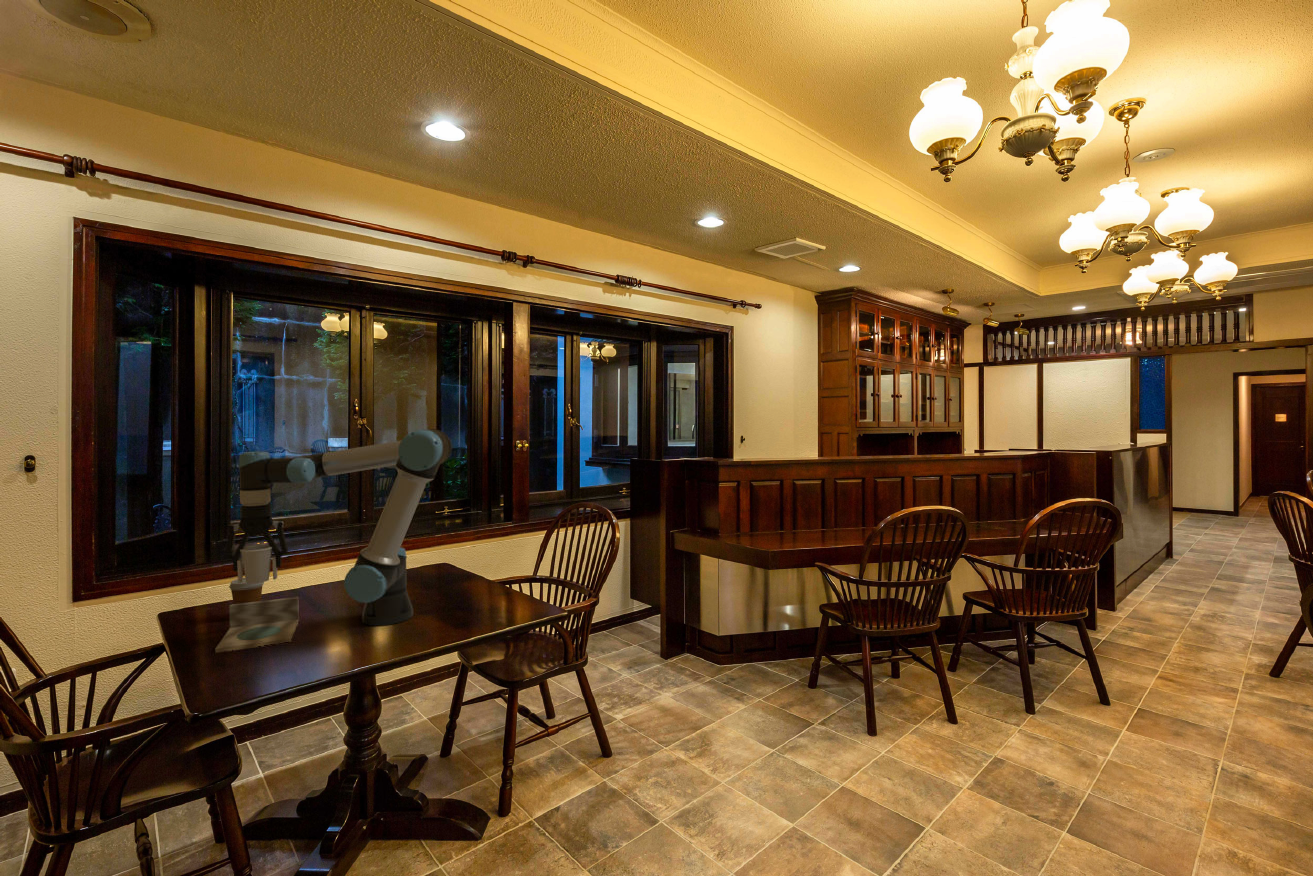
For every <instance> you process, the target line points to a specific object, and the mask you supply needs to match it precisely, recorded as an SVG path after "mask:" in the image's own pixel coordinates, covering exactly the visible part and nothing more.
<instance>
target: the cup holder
mask: <svg viewBox="0 0 1313 876" xmlns="http://www.w3.org/2000/svg"><path fill="white" fill-rule="evenodd" d="M298 622H299V623H300V613H299V596H295V597H285V598H277V599H270V600H261V601H258V602H249V603H240V604H234V603H233V604H230V605H229V629H228V630H227V631H226V633H225V634H224V636H223V638H222V639H221V640H220V642H219V643H218V644H217V646H216V647H215V651H214V652H215V654H218V653H225V651H226V652H232V650H233V651H239V650H247V649H254V648H259V647H258V646H261V647H265V646H264V645H269V646H271V645H270V644H276V645H278V644H277V643H283V642H290V643H291V642H292V640H293V638H292V637H294V635H293V634H295V633H296V630H297V628H298V625H299V623H298ZM296 627H297V628H296ZM294 632H295V633H294ZM291 639H292V640H291ZM283 644H284V643H283Z"/></svg>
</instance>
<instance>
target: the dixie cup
mask: <svg viewBox="0 0 1313 876" xmlns="http://www.w3.org/2000/svg"><path fill="white" fill-rule="evenodd" d="M240 551H241V555H240V556H241V559H242V565H243V574H244V578H246V583H250V584H252V583H261V582H264V583H266V582H268V581H269V579H270V573H271V565H272V558H273V551H272V547H270V546H269V544H255V545H249V546H248V545H247V546H244V548H243V550H242V549H241V550H240Z"/></svg>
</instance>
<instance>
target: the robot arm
mask: <svg viewBox="0 0 1313 876" xmlns="http://www.w3.org/2000/svg"><path fill="white" fill-rule="evenodd" d="M452 449H453V448H452V442H451V440H450V438H449V436H448V435H447V434H446V433H445V432H443V431H441V430H439V429H434V428H430V429H415V430H414V431H412V432H409V433H407V434H406V435H405V436H404V437H403V438H402V439H401V440H395V441H390V442H385V443H378V444H370V445H366V446H364V445H363V446H359V447H352V448H348V449H341V450H340V449H339V450H335V451H329V452H328V451H327V452H322V453H316V454H315V453H314V454H308V455H303V456H296V457H288V458H287V457H284V458H283V457H281V458H280V457H279V458H275V457H272V458H271V455H270V453H269V452H268V451H245V452H242V453H240V454H239V459H238V460H239V463H238V469H239V472H238V473H239V503H240V504H241V506H240V507H239V509H240V520H239V523H236V524H234V523H232V524H230V525H229V524H228V527H227V529H228V540H227V545H226V550H225V557H224V558H225V560H231V561H232V567H233V568H232V569H233V572H237V579H238V583H241V582H242V581H243V578H244V567H243V561H242V558H240V557H241V556H242V555H241V551H240V550H241V549H242V550H243V548H244V547H246V544H247V542H248V540H249V538H250V537H254V536H263V537H264V539H265V540H266V542H267V545H269V546H270V547H272V554H273V556H272V557H271V561H272V580H274V581H275V580H277V579H278V568H280V567H282V556H284V555H286V554H287V553H288V552H289V550H288V549H289V548H288V546H287V541H286V537H285V532H284V524H285V522H284V521H283V520H280V521H278V520H275V521H274V519H273V517H272V504H271V503H270V502H271V501H272V499H271V495H272V494H271V484H295V485H299V484H308V483H310V482H312V480H314V479H319V478H325V477H331V476H336V475H342V474H349V473H354V472H362V471H366V470H373V469H380V468H387V467H392V466H393V467H394V466H395V467H394V468H395V469H396V471H397V476H396V477H395V480H394V482H393V485H392V487H391V489H390V492H389V494H388V498H387V500H386V503H385V505H384V507H383V510H382V512H381V514H380V517H379V519H378V522H377V524H376V526H375V529H374V531H373V534H372V537H371V539H370V541H369V543H368V546H366V547H364V548H361V550H360V552H359V553H358V556H357V557H356V561H355V563H354V566H353V567H351V568H350V569H349V570H348V571H347V573H346V575H345V576H344V579H343V581H344V582H343V586H344V590H345V591H346V593H347V595H348V596H349V597H350V598H351V599H352V600H354V601H356V602H359V603H365V604H364V608H363V611H362V615H361V620H362V621H361V622H362V624H364V623H365V625H367V624H368V626H387V625H395V624H398V623H402V622H405V621H407V620H409V619H411V618H412V617H413V615H414V608H413V605H412V602H411V600H410V598H409V595H408V591H407V590H408V589H407V587H408V586H407V585H408V584H407V580H408V579H407V553H406V549H405V548H404V547H401V546H402V544H403V542H404V539H405V537H406V534H407V531H408V529H409V527H410V524H411V522H412V519H413V517H414V514H415V512H416V509H417V507H418V505H419V502H420V500H421V498H422V495H423V493H424V490H425V488H426V485H427V484H428V483H429V482H432V481H433V480H435V477H436V475H437V472H438V470H439V467H440V465H442V464H443V463H445V462H446V461H447V460H448V458H449V457H450V455H451V453H452ZM272 526H274V528H275V529H276V532H277V537H278V540H279V544H280V548H281V549H279V546H278V544H277V543H276V541H275V540H274V538H273V536H272V534H271V532H270V528H271V527H272ZM239 528H240V529H241V530H242V531H243V532H244V534H243V536H242V537H241V540H240V542H239V544H238V546H237V549H236V551H235V553H234V554H233V551H234V545H235V540H236V535H237V531H239Z"/></svg>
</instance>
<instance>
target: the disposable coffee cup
mask: <svg viewBox="0 0 1313 876" xmlns="http://www.w3.org/2000/svg"><path fill="white" fill-rule="evenodd" d="M264 583H265V582H261V583H252V584H250V583H246V578H245V577H243V581H242V582H241V583H238V578H236V579H234V580H232V581H231V582H230V585H229V589H230V593H231V597H232V601H233V604H240V603H249V602H258V601H262V593H263V592H262V591H263V585H264Z"/></svg>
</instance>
